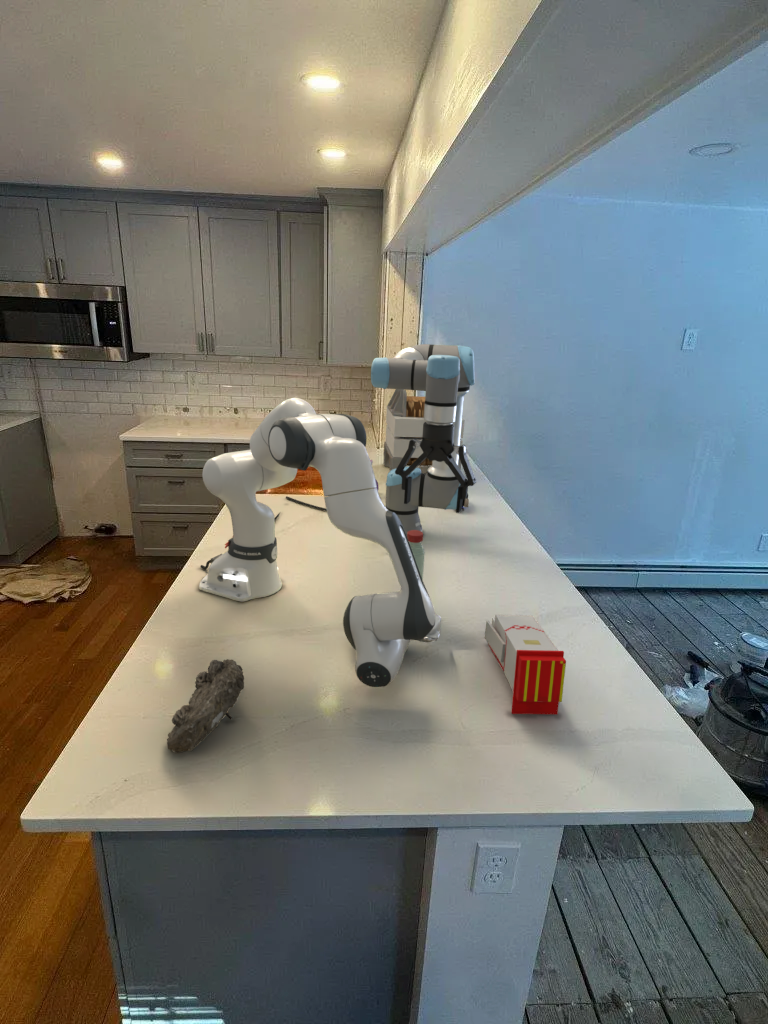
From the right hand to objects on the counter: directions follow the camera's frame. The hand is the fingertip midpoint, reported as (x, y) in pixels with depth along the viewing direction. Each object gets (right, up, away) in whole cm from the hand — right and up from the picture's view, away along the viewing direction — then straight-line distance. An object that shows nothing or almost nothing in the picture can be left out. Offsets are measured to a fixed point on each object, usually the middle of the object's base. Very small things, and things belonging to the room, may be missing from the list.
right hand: (432, 506), depth 142 cm
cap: (-4, -7, 0) cm, 8 cm away
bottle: (-5, -27, +7) cm, 29 cm away
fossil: (-45, -40, -34) cm, 69 cm away
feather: (-52, -3, +69) cm, 86 cm away
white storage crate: (+5, +18, +133) cm, 134 cm away
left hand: (-7, -24, -3) cm, 25 cm away
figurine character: (+18, +1, +88) cm, 90 cm away
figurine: (-19, +6, +97) cm, 99 cm away
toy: (+17, -37, -17) cm, 44 cm away
